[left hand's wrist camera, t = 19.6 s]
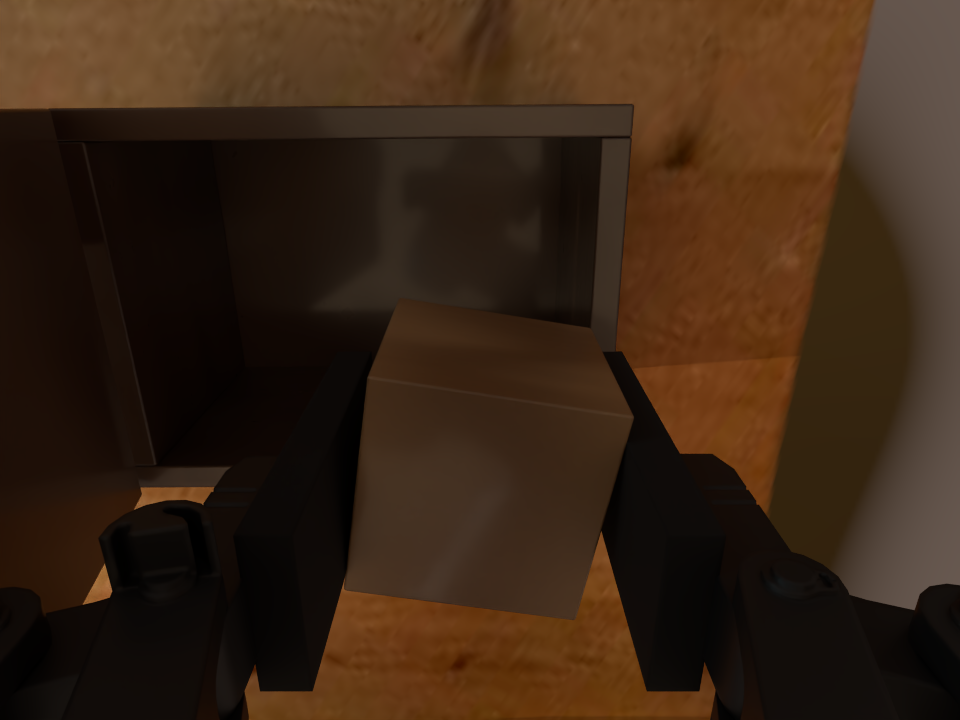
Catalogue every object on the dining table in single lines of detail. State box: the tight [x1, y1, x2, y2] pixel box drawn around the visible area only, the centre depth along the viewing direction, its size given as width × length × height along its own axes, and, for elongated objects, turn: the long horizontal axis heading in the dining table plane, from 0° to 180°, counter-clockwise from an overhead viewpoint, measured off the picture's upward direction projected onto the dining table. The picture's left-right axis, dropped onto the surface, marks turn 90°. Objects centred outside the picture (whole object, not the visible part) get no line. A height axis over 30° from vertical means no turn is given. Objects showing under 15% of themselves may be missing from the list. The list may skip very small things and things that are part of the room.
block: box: [344, 298, 634, 620], centre depth 13 cm, size 4×4×4 cm
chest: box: [49, 104, 634, 487], centre depth 25 cm, size 17×13×10 cm
